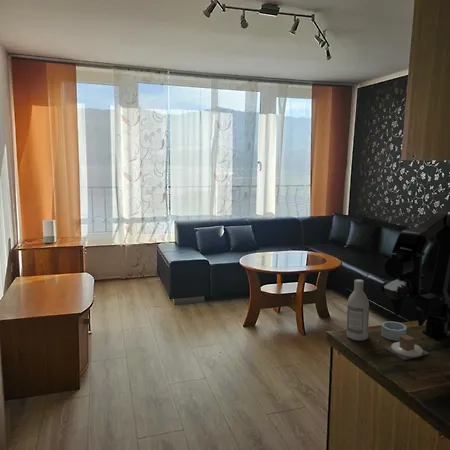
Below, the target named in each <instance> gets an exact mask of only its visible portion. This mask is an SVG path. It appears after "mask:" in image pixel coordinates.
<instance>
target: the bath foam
mask: <svg viewBox="0 0 450 450" xmlns="http://www.w3.org/2000/svg"><path fill="white" fill-rule="evenodd" d="M353 283H354V284H353V285H354V287H353V291H352V293H351V294H350V295H349V297H348V299H347V306H346V307H347V309H346V311H347V312H346V316H347V317H346V336H347V337H348V338H349V339H351V340H354V341H358V342H359V341H365V340H367V339H368V338H369V319H370V303H369V302H370V301H369V299H368V296H367V295H366V293H365V291H364V284H365V282H364V280H363V279H359V278H358V279H354V282H353Z"/></svg>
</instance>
